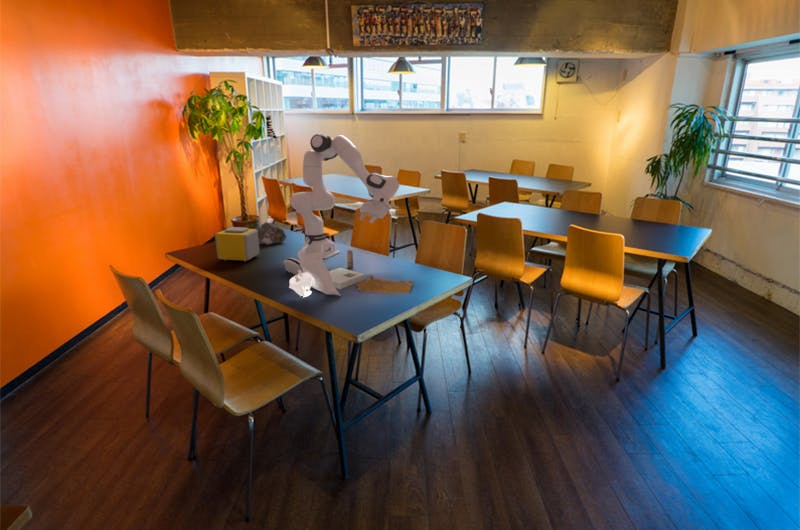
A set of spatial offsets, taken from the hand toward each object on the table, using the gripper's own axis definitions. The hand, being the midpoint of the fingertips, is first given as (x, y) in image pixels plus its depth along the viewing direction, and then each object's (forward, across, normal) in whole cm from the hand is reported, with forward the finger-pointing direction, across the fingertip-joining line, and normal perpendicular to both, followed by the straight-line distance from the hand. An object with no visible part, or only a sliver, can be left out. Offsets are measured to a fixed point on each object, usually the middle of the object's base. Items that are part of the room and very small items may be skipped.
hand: (365, 221), depth 251 cm
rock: (+33, -81, +3) cm, 88 cm away
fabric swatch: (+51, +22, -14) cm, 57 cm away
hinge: (+45, -11, -8) cm, 47 cm away
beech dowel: (+25, -3, +12) cm, 28 cm away
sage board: (+36, +13, +1) cm, 38 cm away
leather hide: (+28, +36, +10) cm, 47 cm away
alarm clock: (+55, -57, -19) cm, 81 cm away
